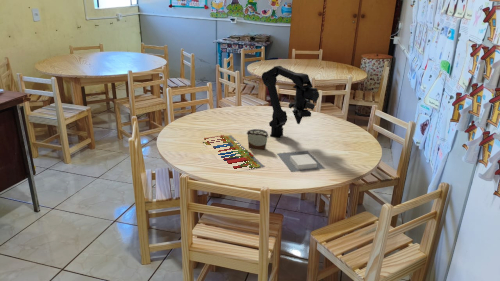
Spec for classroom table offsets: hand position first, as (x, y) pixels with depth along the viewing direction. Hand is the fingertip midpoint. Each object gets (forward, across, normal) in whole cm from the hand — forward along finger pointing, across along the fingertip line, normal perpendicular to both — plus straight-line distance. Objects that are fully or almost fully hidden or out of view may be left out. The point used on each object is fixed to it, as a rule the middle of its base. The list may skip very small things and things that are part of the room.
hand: (298, 123), depth 204 cm
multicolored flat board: (+13, -4, +40) cm, 43 cm away
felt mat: (+12, -23, +7) cm, 27 cm away
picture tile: (+10, -21, +7) cm, 25 cm away
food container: (+12, -1, +24) cm, 27 cm away
